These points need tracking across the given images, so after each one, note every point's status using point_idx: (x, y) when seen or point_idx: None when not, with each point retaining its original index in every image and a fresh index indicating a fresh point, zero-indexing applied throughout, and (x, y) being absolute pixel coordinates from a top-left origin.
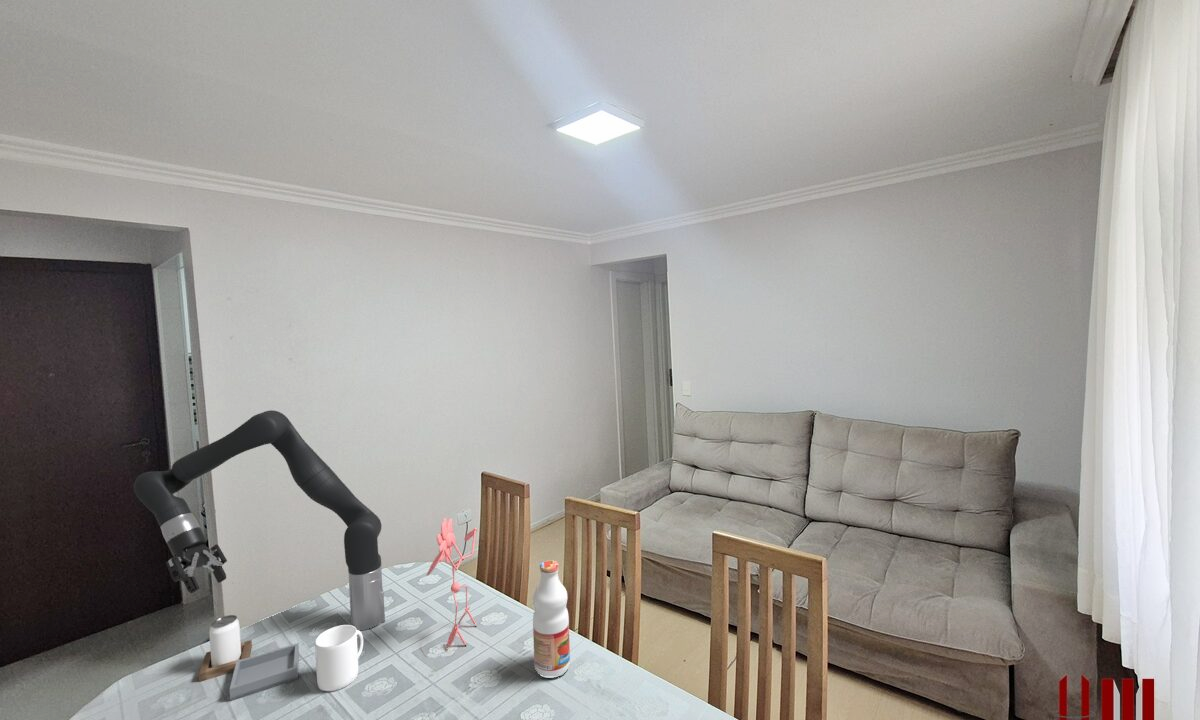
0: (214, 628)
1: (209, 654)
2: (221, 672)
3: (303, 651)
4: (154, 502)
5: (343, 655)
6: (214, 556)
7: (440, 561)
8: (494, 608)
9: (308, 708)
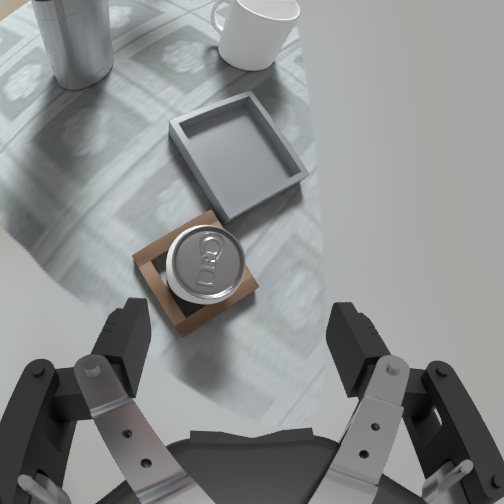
0: (243, 268)
1: (189, 322)
2: None
3: (162, 128)
4: None
5: (280, 9)
6: (102, 434)
7: None
8: None
9: (301, 71)
